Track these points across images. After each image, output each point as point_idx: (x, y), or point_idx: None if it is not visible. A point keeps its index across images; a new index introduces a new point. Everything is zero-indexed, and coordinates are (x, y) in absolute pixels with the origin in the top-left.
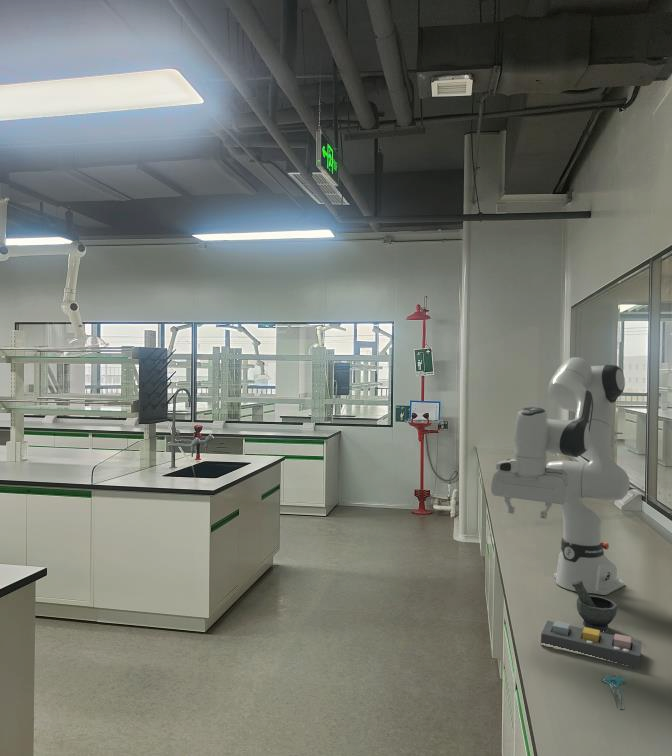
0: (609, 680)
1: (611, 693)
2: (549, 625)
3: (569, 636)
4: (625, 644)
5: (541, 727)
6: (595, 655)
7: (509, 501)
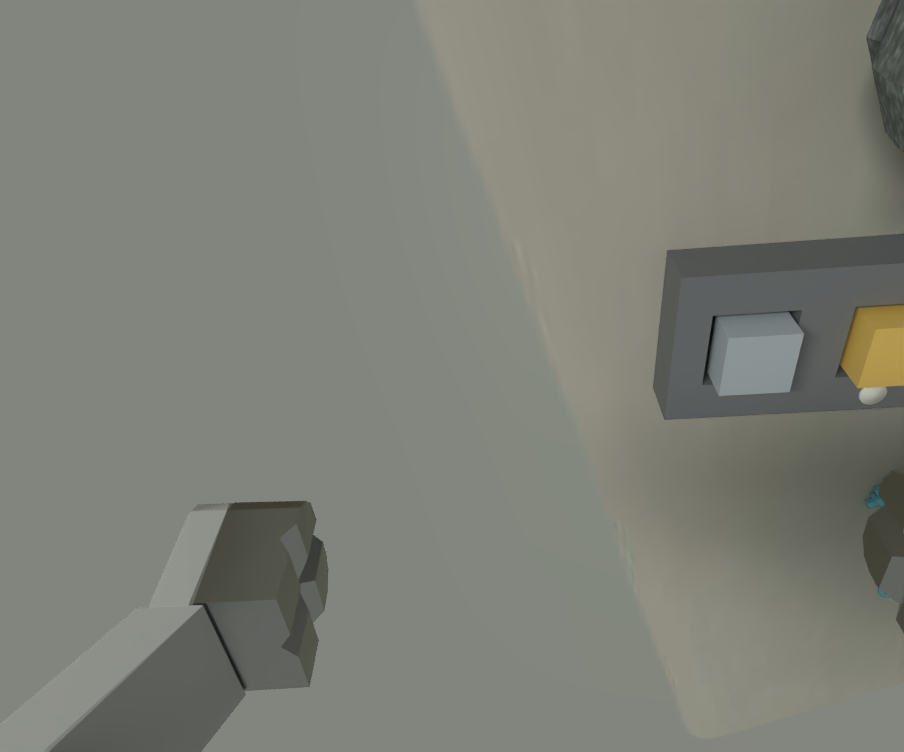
0: None
1: None
2: (694, 326)
3: None
4: None
5: (692, 704)
6: None
7: (96, 733)
